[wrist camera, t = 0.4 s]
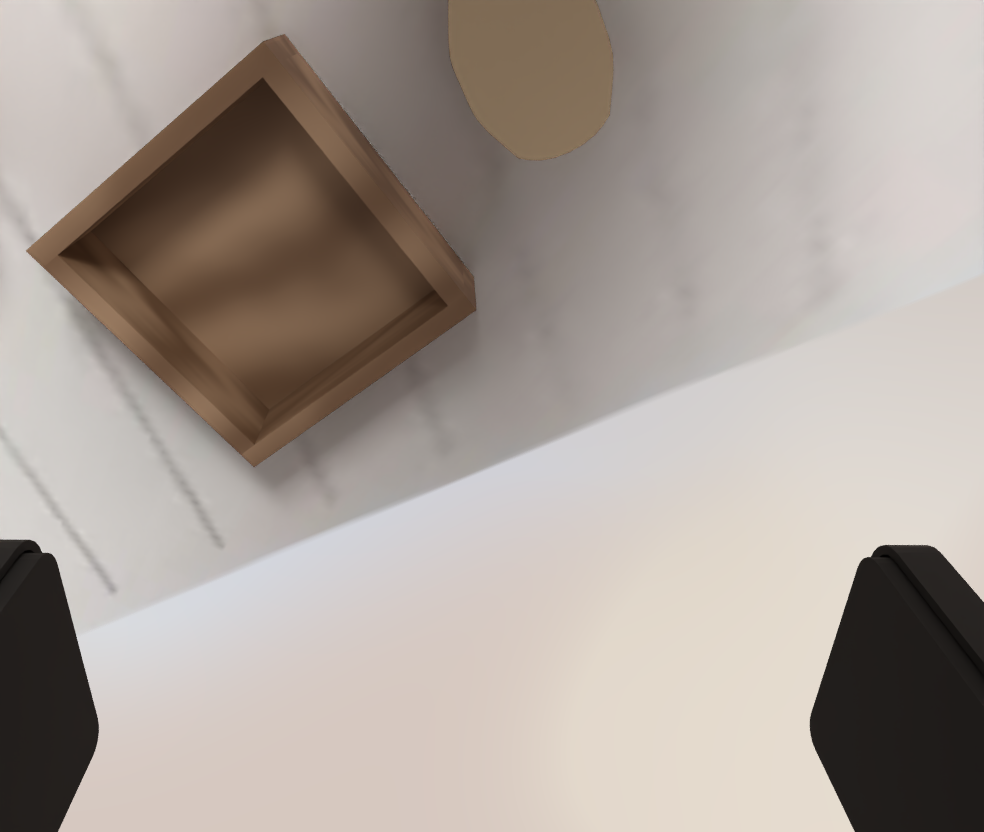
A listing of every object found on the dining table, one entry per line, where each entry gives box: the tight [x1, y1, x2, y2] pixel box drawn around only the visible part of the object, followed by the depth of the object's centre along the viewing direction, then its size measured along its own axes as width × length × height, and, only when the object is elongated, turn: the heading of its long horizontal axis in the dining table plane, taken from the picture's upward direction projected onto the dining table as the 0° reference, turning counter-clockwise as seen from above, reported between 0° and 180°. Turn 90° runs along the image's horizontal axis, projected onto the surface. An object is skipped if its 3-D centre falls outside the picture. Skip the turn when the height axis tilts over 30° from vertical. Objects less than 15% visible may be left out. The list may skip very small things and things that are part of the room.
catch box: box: [26, 34, 476, 467], centre depth 41 cm, size 15×15×5 cm
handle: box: [448, 0, 613, 160], centre depth 32 cm, size 5×6×15 cm
